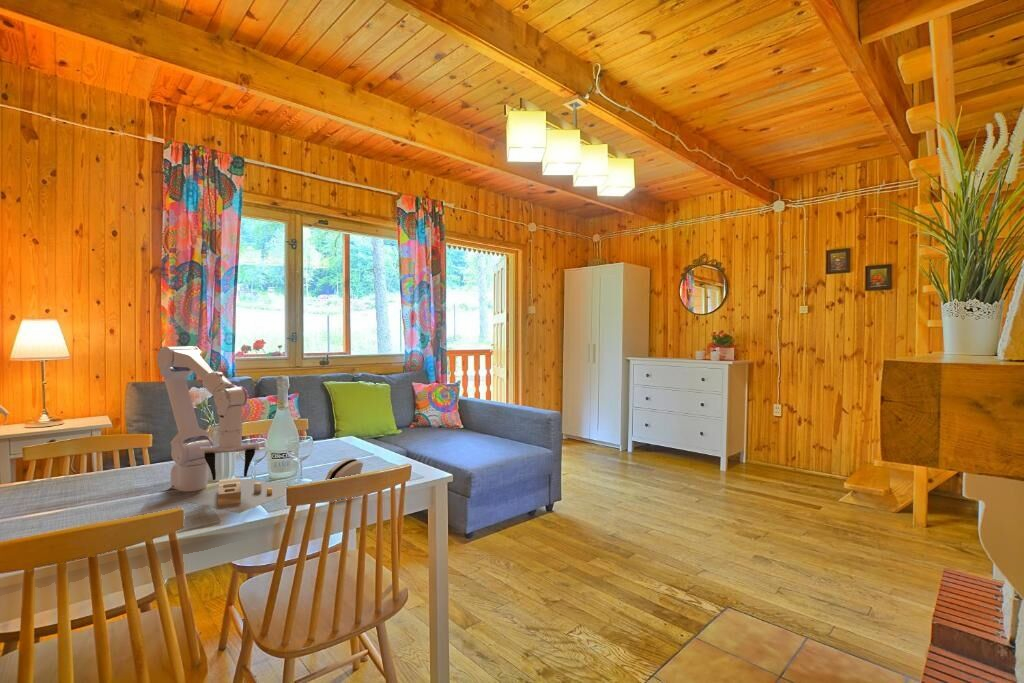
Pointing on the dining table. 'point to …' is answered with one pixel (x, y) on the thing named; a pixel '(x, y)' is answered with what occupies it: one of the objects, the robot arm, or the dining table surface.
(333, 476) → the tan half-round piece
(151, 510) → the dining table surface
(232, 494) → the tan block
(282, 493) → the board
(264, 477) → the dining table surface
